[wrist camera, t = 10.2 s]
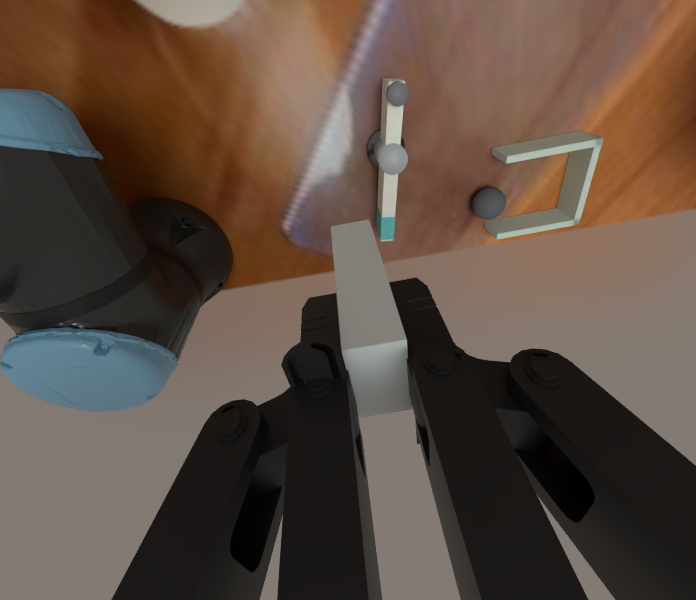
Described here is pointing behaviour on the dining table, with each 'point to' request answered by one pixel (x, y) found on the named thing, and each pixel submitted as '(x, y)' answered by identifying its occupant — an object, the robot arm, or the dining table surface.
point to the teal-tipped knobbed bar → (390, 154)
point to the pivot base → (371, 144)
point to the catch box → (572, 189)
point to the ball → (489, 203)
